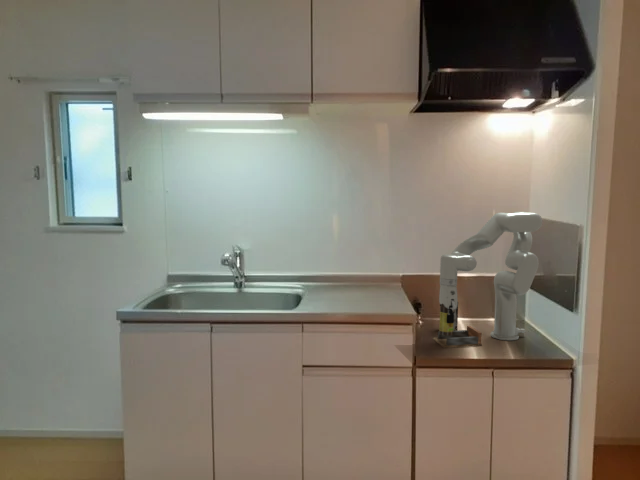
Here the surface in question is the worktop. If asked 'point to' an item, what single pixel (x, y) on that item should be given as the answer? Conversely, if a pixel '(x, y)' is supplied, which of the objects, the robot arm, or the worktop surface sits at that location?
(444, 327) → the sauce bottle
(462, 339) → the channel
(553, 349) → the worktop surface
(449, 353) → the worktop surface
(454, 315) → the coffee box
